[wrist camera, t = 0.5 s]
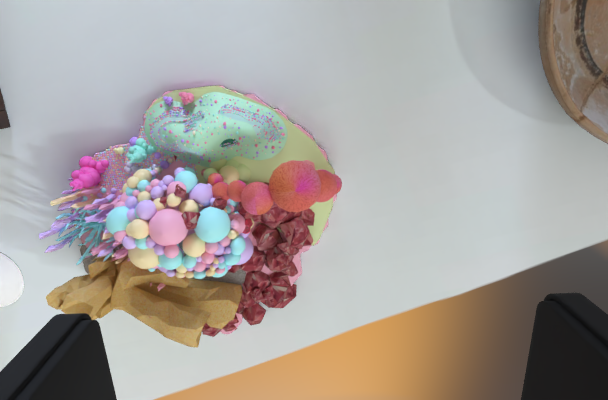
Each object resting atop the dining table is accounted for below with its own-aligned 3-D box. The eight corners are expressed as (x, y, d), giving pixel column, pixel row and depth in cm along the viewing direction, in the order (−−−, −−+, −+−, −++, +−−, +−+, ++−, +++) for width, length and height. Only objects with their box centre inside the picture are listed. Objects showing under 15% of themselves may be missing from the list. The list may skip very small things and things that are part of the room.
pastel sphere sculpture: (274, 349, 44) (269, 419, 35) (56, 286, 41) (-9, 346, 32) (362, 134, 37) (383, 155, 28) (105, 39, 34) (38, 29, 25)
